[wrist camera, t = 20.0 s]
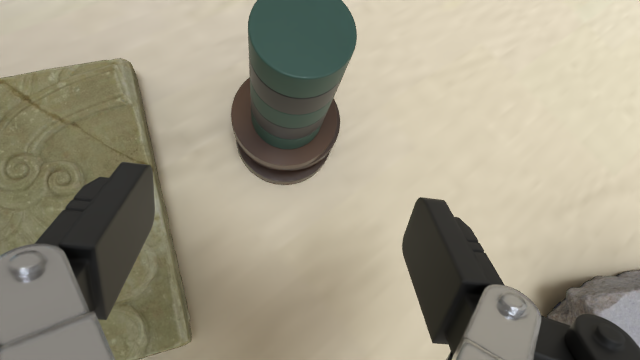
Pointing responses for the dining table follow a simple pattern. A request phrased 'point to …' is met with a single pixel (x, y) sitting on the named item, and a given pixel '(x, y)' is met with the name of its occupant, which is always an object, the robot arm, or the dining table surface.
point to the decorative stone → (605, 302)
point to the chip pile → (276, 161)
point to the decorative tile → (78, 170)
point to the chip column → (296, 66)
